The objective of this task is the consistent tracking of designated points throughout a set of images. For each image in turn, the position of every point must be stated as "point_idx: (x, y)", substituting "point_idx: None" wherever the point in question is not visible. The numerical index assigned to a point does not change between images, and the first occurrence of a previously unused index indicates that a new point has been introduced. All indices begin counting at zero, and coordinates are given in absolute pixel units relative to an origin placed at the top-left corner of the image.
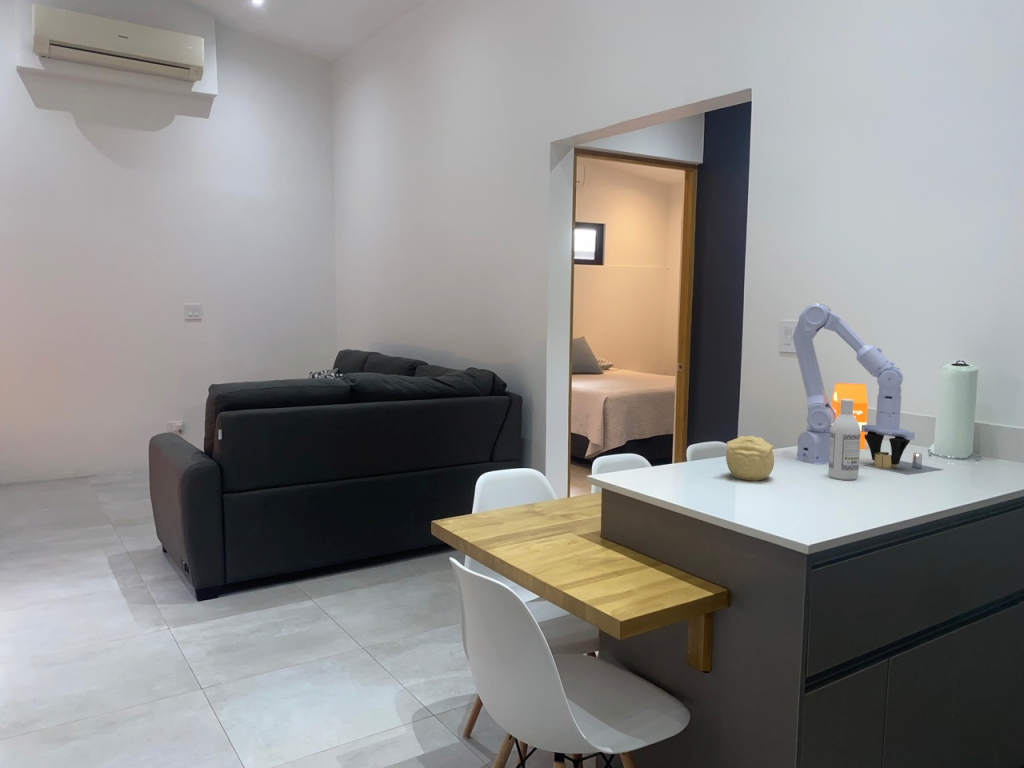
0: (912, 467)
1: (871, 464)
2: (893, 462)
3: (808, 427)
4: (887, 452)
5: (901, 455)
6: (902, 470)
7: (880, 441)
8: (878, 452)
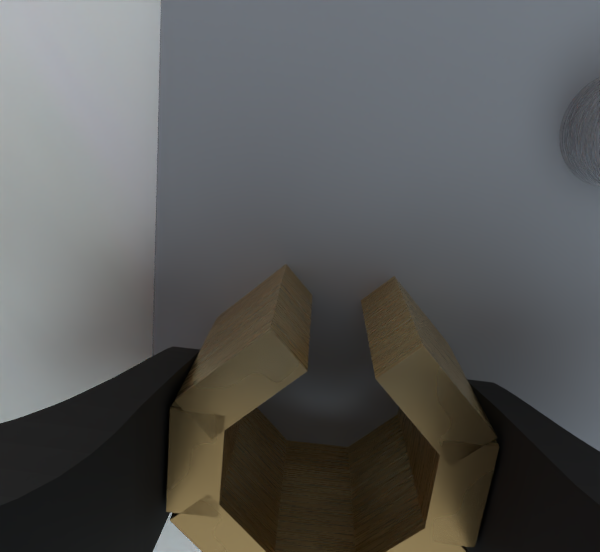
0: (579, 174)
1: None
2: None
3: None
4: (279, 367)
5: (569, 438)
6: (548, 397)
7: (86, 512)
8: (205, 482)
